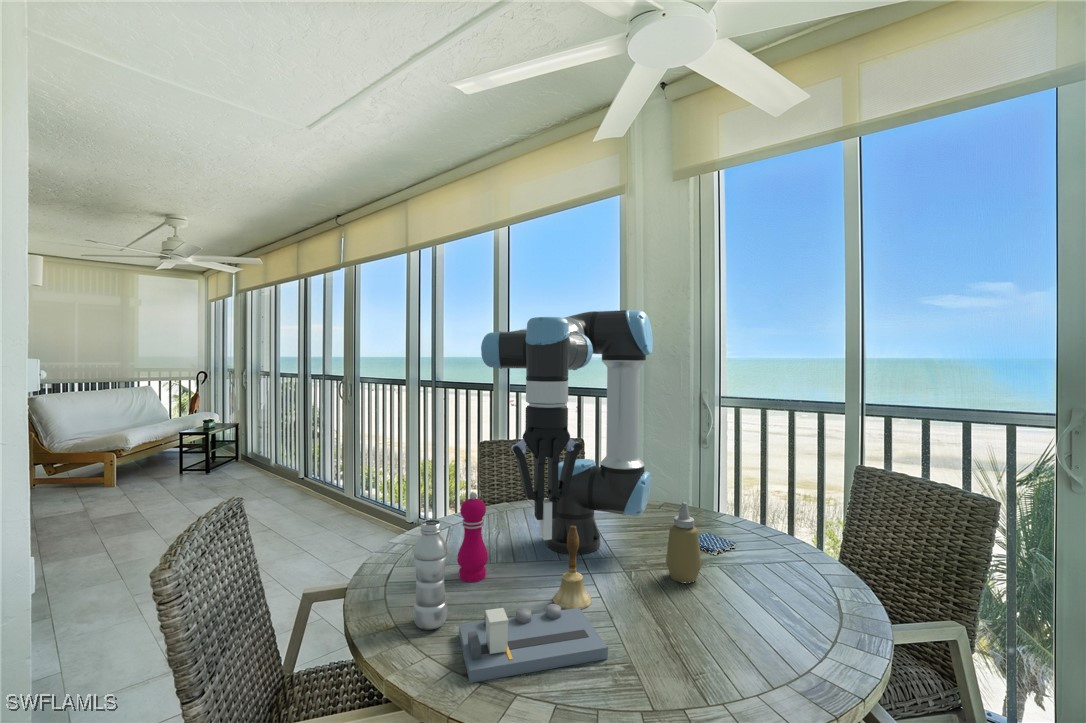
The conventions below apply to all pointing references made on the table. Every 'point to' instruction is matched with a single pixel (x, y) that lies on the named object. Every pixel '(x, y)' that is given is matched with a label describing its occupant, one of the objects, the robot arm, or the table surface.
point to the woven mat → (714, 543)
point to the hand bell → (572, 579)
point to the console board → (532, 644)
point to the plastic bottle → (430, 577)
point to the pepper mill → (472, 541)
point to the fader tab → (496, 630)
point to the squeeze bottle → (683, 548)
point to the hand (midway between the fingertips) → (545, 536)
